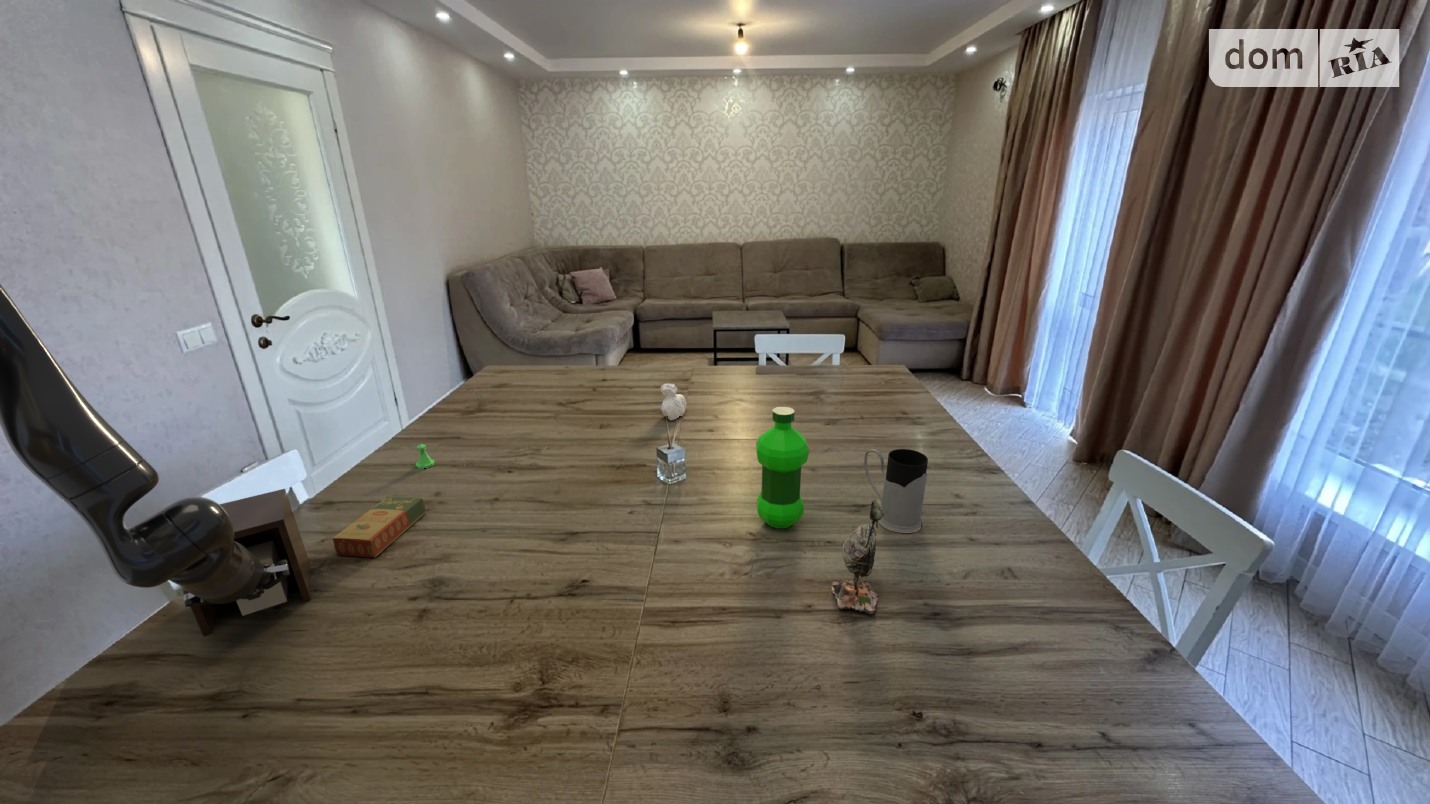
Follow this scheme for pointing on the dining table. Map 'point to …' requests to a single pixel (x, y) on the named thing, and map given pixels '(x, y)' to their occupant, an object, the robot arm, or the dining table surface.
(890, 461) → the glass holder
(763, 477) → the plastic bottle
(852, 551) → the bird figurine
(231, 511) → the walnut shelf
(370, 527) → the carton
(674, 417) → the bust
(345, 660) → the dining table surface
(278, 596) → the cream box
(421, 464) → the game piece
